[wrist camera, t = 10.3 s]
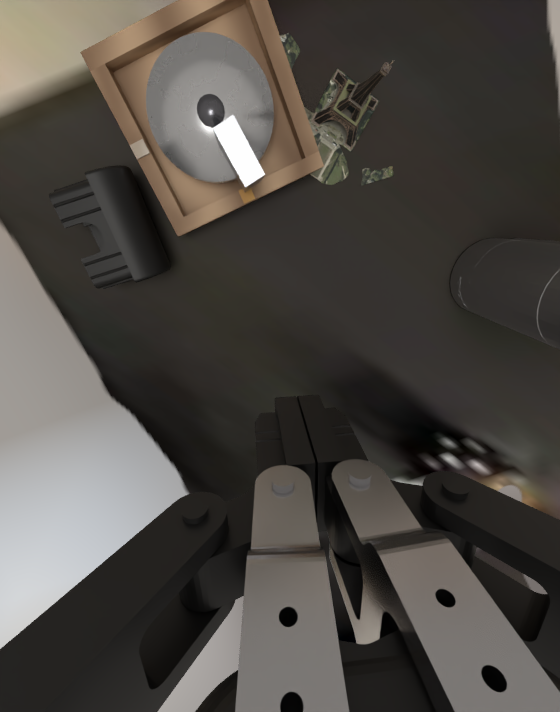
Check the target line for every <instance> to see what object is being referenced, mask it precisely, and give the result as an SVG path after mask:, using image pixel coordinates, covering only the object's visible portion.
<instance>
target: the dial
mask: <svg viewBox="0 0 560 712" xmlns="http://www.w3.org/2000/svg"><path fill="white" fill-rule="evenodd" d="M146 110H147V116H148V121H149V124H150V128H151V131H152V133H153V136H154V138H155V140H156V142H157V144H158V145H159V147H160V149H161V150H162V152H163V153H164V154H165V156H166V157H167V158H168V159H169V160H170V161H171V162H172V163H173V164H174V165H175V166H176V167H177V168H179V169H180V170H181V171H183V172H184V173H186V174H187V175H189V176H191V177H193V178H194V179H197V180H200V181H203V182H207V183H216V184H219V183H227V182H232V181H234V180H238V182H239V183H240V185H241V187H242V189H243V190H244V192H246V191H248V190H249V189H251V188H253V187H254V186H256V185H257V184H259V183H260V182H261V181H262V179H263V177H264V175H265V173H264V172H263V170H262V168H261V166H260V164H259V161H260V160H261V158H262V156H263V155H264V153H265V151H266V148H267V146H268V143H269V141H270V137H271V134H272V129H273V121H274V107H273V99H272V94H271V90H270V87H269V84H268V81H267V79H266V76H265V74H264V72H263V71H262V69H261V67H260V65H259V64H258V63H257V61H256V60H255V58H254V57H253V56H252V55H251V54H250V53H249V52H248V51H247V50H246V49H245V48H244V47H243V46H241V45H240V44H239V43H237V42H235V41H234V40H232V39H230V38H228V37H226V36H223V35H220V34H217V33H211V32H196V33H191V34H188V35H185V36H182V37H180V38H178V39H177V40H175V41H173V42H172V43H171V44H170V45H168V46H167V47H166V48H165V49H164V50H163V52H162V53H161V54H160V55H159V57H158V58H157V60H156V61H155V63H154V65H153V68H152V70H151V72H150V76H149V79H148V84H147V89H146Z"/></svg>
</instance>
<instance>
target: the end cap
mask: <svg viewBox="0 0 560 712" xmlns="http://www.w3.org/2000/svg"><path fill="white" fill-rule="evenodd" d="M85 175H86V177H87V180H84V181H81V182H78V183H75V184H72V185H69V186H66V187H63V188H60V189H57V190H54V192H52V193H49V197H50V200H51V202H52V204H53V206H54V208H55V210H56V212H57V214H58V216H59V218H60V220H61V222H62V224H63V226H64V227H65V228H68V227H71V226H74V225H77V224H80V223H83V225H84V227H86V226H89V228H90V230H91V232H92V234H93V236H94V238H95V240H96V242H97V244H98V246H99V249H100V252H99V253H97V254H95V255H92V256H89V257H85V258H82V259H81V261H82V263H83V265H84V267H85V269H86V271H87V272H88V274H89V276H90V278H91V280H92V282H93V284H94V286H95V287H96V288H103V289H105V288H109V287H112V286H115V285H118V284H121V283H124V282H127V281H130V280H133V279H134V281H135V282H139V281H142V280H145V279H148V278H151V277H153V276H156V275H158V274H161V273H163V272H165V271H167V270H169V269H170V268H171V265H170V263H169V261H168V258H167V256H166V253H165V251H164V249H163V246H162V244H161V241H160V239H159V237H158V234H157V232H156V229H155V227H154V224H153V222H152V220H151V217H150V215H149V212H148V210H147V208H146V205H145V203H144V200H143V198H142V195H141V193H140V191H139V188H138V186H137V183H136V181H135V179H134V176H133V174H132V171H131V169H130V168H129V167H127V166H110V167H104V168H99V169H95V170H91V171H88V172H85Z"/></svg>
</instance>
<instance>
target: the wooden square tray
mask: <svg viewBox="0 0 560 712" xmlns="http://www.w3.org/2000/svg"><path fill="white" fill-rule="evenodd" d="M196 32H211V33H217V34H220V35H223V36H226V37H228V38H230V39H232V40H234V41H235V42H237V43H239V44H240V45H241V46H243V47H244V48H245V49H246V50H247V51H248V52H249V53H250V54H251V55H252V56H253V57H254V58H255V60H256V61H257V63H258V64H259V65H260V67H261V69H262V71H263V72H264V74H265V76H266V79H267V81H268V84H269V87H270V90H271V94H272V99H273V107H274V121H273V129H272V134H271V137H270V141H269V143H268V146H267V148H266V151H265V153H264V155H263V156H262V158H261V160H260V161H259V164H260V166H261V168H262V170H263V172H264V173H265V175H264V177H263V179H262V181H261V182H260V183H259V184H257V185H256V186H254V187H253V188H251V189H249V190H248V191H246V192H244V190H243V189H242V187H241V185H240V183H239V182H238V180H234V181H232V182H227V183H219V184H216V183H207V182H203V181H200V180H197V179H194V178H193V177H191V176H189V175H187V174H186V173H184V172H183V171H181V170H180V169H179V168H177V167H176V166H175V165H174V164H173V163H172V162H171V161H170V160H169V159H168V158H167V157H166V156H165V154H164V153H163V152H162V150H161V149H160V147H159V145H158V144H157V142H156V140H155V138H154V136H153V133H152V131H151V128H150V124H149V121H148V116H147V110H146V89H147V84H148V79H149V76H150V72H151V70H152V68H153V65H154V63H155V61H156V60H157V58H158V57H159V55H160V54H161V53H162V52H163V50H164V49H165V48H166V47H167V46H168V45H170V44H171V43H172V42H173V41H175V40H177V39H178V38H180V37H182V36H185V35H188V34H191V33H196ZM80 53H81V54H82V56H83V58H84V60H85V62H86V64H87V66H88V68H89V70H90V71H91V73H92V75H93V77H94V79H95V81H96V83H97V85H98V86H99V88H100V90H101V92H102V94H103V96H104V98H105V100H106V102H107V103H108V105H109V107H110V109H111V111H112V113H113V115H114V117H115V119H116V120H117V122H118V124H119V126H120V128H121V130H122V132H123V134H124V136H125V137H126V139H127V141H128V143H129V145H130V147H131V149H132V151H133V153H134V154H135V156H136V158H137V160H138V162H139V164H140V166H141V168H142V169H143V171H144V173H145V175H146V177H147V179H148V181H149V183H150V185H151V186H152V188H153V190H154V192H155V194H156V196H157V198H158V200H159V201H160V203H161V205H162V207H163V209H164V211H165V213H166V215H167V217H168V218H169V220H170V222H171V224H172V226H173V228H174V230H175V232H176V234H177V235H178V237H179V236H182V235H185V234H187V233H189V232H191V231H193V230H195V229H197V228H199V227H201V226H203V225H205V224H207V223H209V222H211V221H214V220H216V219H218V218H220V217H222V216H224V215H226V214H228V213H230V212H232V211H234V210H236V209H238V208H240V207H243V206H245V205H247V204H249V203H251V202H253V201H255V200H257V199H259V198H261V197H263V196H265V195H267V194H269V193H272V192H274V191H276V190H278V189H280V188H282V187H284V186H286V185H288V184H290V183H292V182H294V181H296V180H298V179H301V178H303V177H305V176H307V175H309V174H311V173H313V172H315V171H317V170H319V169H320V168H322V167H324V165H323V162H322V159H321V156H320V153H319V150H318V147H317V144H316V141H315V138H314V135H313V132H312V129H311V126H310V123H309V121H308V118H307V115H306V112H305V109H304V106H303V103H302V100H301V97H300V94H299V91H298V88H297V85H296V82H295V79H294V77H293V74H292V71H291V68H290V65H289V62H288V59H287V56H286V53H285V50H284V47H283V44H282V41H281V38H280V35H279V32H278V30H277V27H276V24H275V21H274V18H273V15H272V12H271V9H270V6H269V3H268V0H178V1H176V2H174V3H172V4H170V5H168V6H166V7H164V8H162V9H161V10H159V11H157V12H155V13H153V14H151V15H149V16H147V17H146V18H144V19H142V20H140V21H138V22H136V23H134V24H132V25H130V26H129V27H127V28H125V29H123V30H121V31H119V32H117V33H115V34H114V35H112V36H110V37H108V38H106V39H104V40H102V41H100V42H99V43H97V44H95V45H93V46H91V47H89V48H87V49H85V50H83V51H82V52H80Z"/></svg>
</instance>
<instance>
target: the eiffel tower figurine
mask: <svg viewBox="0 0 560 712" xmlns="http://www.w3.org/2000/svg"><path fill="white" fill-rule="evenodd" d="M280 38H281V41H282V44H283V47H284V50H285V53H286V56H287V59H288V62H289V65H290V68H291V69H292V67H293V65H294V63H295V60H296V58H297V56H298V54H299V52H300V49H299V47H298V45H297V44H296V42H295V41H294V40H293V38H292V37H291V35H290V34H289V33H288V34H285V35H281V36H280ZM393 62H394V60H393V61H392V63H393ZM392 63H391V64H392ZM391 64H388V63H387V62H386V63H384V64H383V66H382V68H381V69H380V70H379V71H378V72H376V73H375V74H374V75H373V76H371V77H370V78H369V79H367V80H366V81H365V82H363V83H361V84H360V83H359V82H358V83H356V82H355V81H353V80H352V79H351V78H349V77H348V76H347V75H346V74H344V73H343V72H342V71H340V70H339V69H338V68H337V69H336V71H335V72H334V74H333V76H332V78H331V80H330V82H329V84H328V86H327V88H326V90H325V92H324V94H323V96H322V98H321V100H320V102H319V104H318V106H317V108H316V110H315V112H314V113H312V112H310V111H309V110H307V109H306V108H305V107H304V109H305V112H306V115H307V118H308V121H309V123H310V126H311V129H312V132H313V135H314V138H315V141H316V144H317V147H318V150H319V153H320V156H321V159H322V162H323V165H324V167H322V168H320V169H319V170H317V171H315V172H313V173H311V174H310V175H311V176H313V177H315V178H317V179H318V180H319V181H320V182H321V183H322V184H323V183H324V184H329V185H333V184H335V183H337V182H342V181H343V180H344V179H345V178H346V177H347V176H348V175H349V171H348V166H347V161H346V158H345V156H344V154H343V153H342V151H341V148H340V146H339V144H341V145H342V146H343V147H345V148H346V149H348V150H349V151H350V152H352V150H353V148H354V146H355V144H356V143H357V141H358V139H359V137H360V135H361V134H362V132H363V130H364V128H365V126H366V124H367V123H368V121H369V119H370V117H371V115H372V114H373V112H374V110H375V108H376V106H377V105H378V103H379V100H378V99H377V98H375V97H374V96H373V95H371V91H372V90H373V89H374V88H375V86H376V85H377V84H378V83H379V81H380V80H381V79H382V78H383V77H384V76H387V74H388V73H389V71H390V69H391V67H392V66H391ZM362 176H363V179H362V184H361V186H362V185H365V184H368V183H371V182H375V181H378V180H381V179H385V178H388V177H392V176H393V168H392V166H391V167H387V168H384V169H382V170H374V171H373V173H372V172H371V170H370V169H369V168H365V169H363V170H362Z"/></svg>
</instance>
